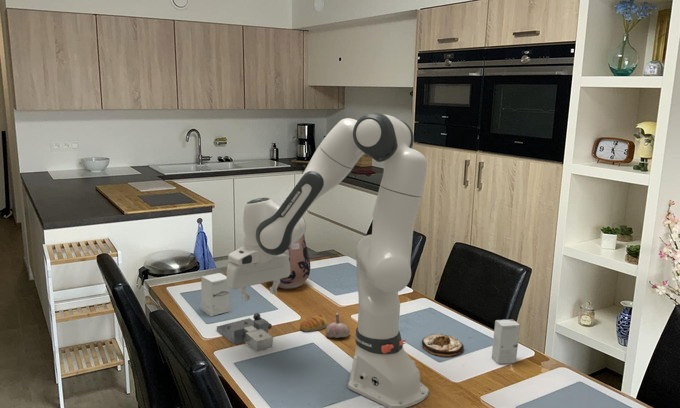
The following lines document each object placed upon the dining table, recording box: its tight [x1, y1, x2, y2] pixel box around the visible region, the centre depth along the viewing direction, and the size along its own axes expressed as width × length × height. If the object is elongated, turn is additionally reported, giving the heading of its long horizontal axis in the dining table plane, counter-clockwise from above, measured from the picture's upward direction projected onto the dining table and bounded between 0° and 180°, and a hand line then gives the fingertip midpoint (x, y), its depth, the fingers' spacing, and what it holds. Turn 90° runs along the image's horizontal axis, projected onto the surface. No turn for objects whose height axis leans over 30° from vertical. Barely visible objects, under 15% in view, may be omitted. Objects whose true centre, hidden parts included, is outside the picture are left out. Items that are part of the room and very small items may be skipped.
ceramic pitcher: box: [270, 234, 311, 290], centre depth 217 cm, size 18×21×25 cm
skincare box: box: [491, 319, 521, 365], centre depth 162 cm, size 6×4×12 cm
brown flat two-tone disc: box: [421, 333, 465, 358], centre depth 170 cm, size 15×15×4 cm
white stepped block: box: [244, 326, 274, 353], centre depth 168 cm, size 10×6×4 cm, turn 38°
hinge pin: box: [253, 312, 273, 330], centre depth 182 cm, size 9×2×2 cm, turn 39°
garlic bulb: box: [325, 312, 350, 339], centre depth 175 cm, size 8×7×8 cm
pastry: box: [299, 314, 329, 333], centre depth 181 cm, size 9×7×4 cm
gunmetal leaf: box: [216, 317, 269, 346], centre depth 175 cm, size 12×12×4 cm
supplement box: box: [200, 272, 231, 317], centre depth 191 cm, size 7×7×13 cm
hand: (259, 296), depth 164 cm, fingers open, 8 cm apart
